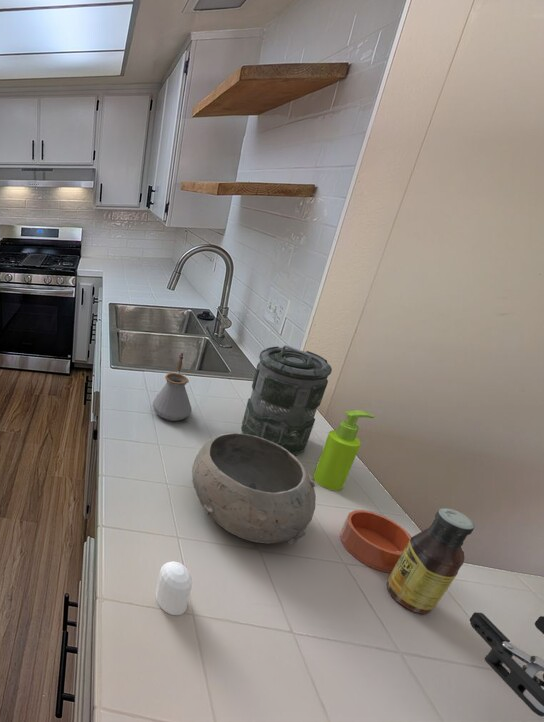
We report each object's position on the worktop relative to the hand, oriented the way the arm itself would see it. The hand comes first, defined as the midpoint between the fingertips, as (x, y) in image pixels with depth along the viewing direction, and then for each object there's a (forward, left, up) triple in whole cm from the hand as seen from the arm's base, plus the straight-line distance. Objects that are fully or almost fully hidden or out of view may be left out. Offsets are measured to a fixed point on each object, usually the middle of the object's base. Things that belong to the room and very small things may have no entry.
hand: (506, 617), depth 53 cm
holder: (+9, -18, -12) cm, 24 cm away
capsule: (+40, +14, -13) cm, 44 cm away
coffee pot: (+56, -49, -13) cm, 76 cm away
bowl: (+32, -14, -13) cm, 37 cm away
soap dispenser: (+15, -36, -13) cm, 41 cm away
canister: (+28, -47, -13) cm, 57 cm away
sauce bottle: (+5, -9, -13) cm, 17 cm away
